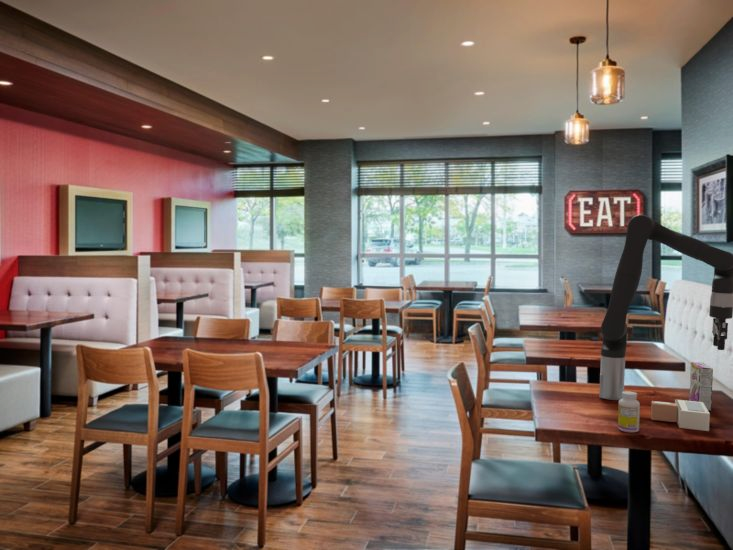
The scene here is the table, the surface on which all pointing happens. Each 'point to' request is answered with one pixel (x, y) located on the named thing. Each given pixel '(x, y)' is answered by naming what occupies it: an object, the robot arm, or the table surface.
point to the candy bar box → (701, 383)
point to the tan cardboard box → (664, 411)
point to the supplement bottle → (628, 412)
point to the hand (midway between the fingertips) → (718, 347)
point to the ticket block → (692, 415)
